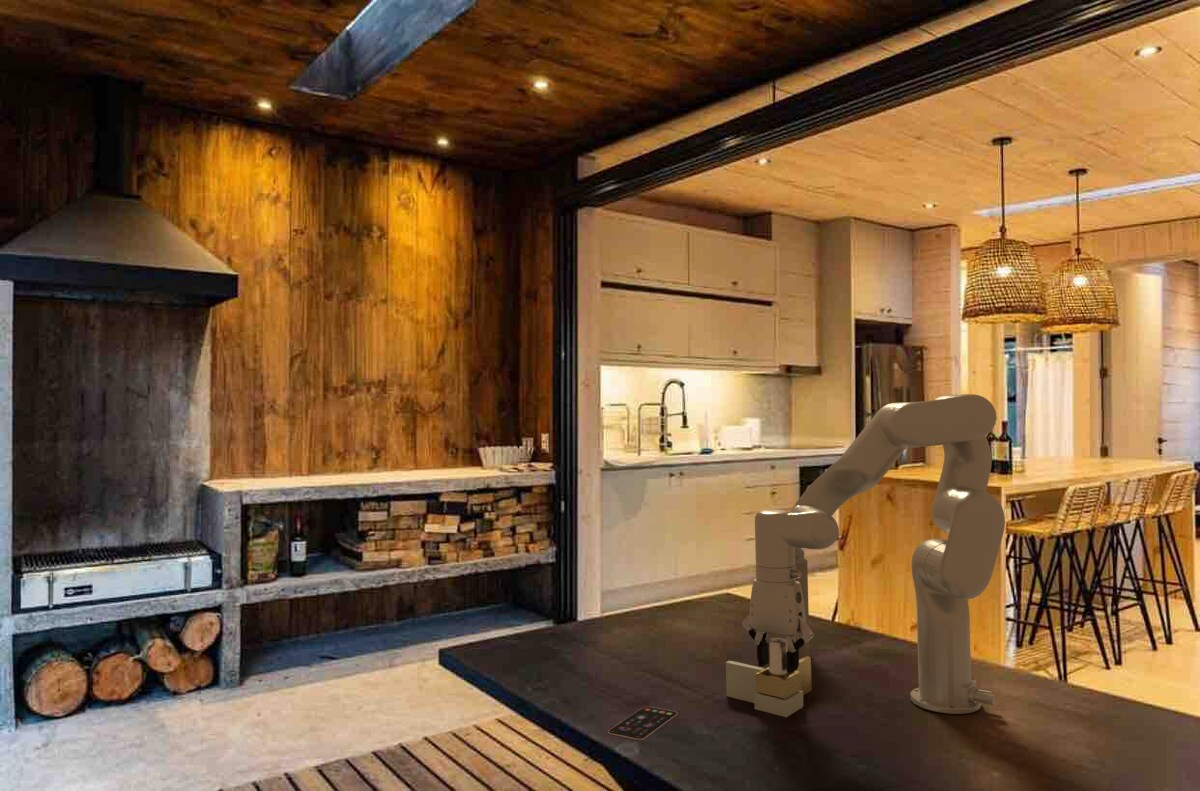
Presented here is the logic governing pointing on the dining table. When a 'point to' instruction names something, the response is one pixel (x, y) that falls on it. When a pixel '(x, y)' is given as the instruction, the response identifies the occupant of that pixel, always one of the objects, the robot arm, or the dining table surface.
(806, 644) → the thermos bottle
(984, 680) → the dining table surface
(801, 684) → the fixed leaf
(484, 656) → the dining table surface
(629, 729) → the smartphone
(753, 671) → the loose leaf
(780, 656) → the pin
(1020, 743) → the dining table surface
